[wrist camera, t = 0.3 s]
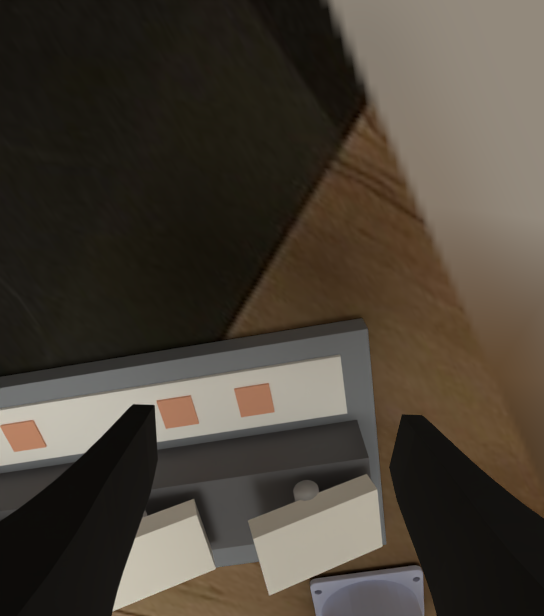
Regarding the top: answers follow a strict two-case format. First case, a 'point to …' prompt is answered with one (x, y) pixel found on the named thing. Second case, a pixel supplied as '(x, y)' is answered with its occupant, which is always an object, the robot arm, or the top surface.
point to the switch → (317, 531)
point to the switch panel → (208, 424)
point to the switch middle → (165, 553)
